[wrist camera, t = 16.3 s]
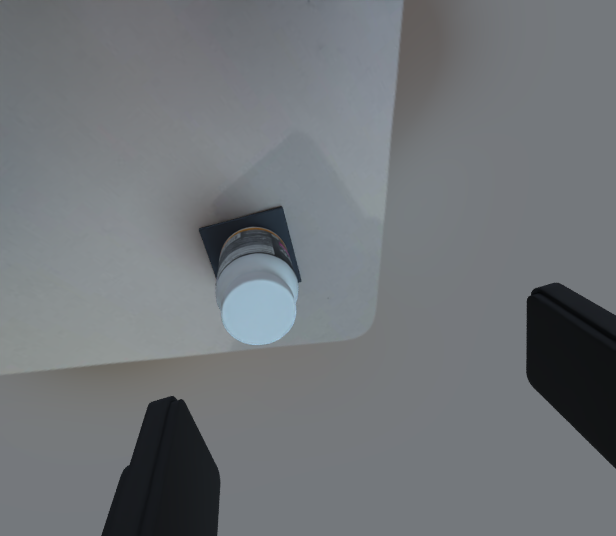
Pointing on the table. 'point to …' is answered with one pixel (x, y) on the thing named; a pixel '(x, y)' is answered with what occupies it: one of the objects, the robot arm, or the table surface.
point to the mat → (267, 219)
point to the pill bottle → (256, 286)
